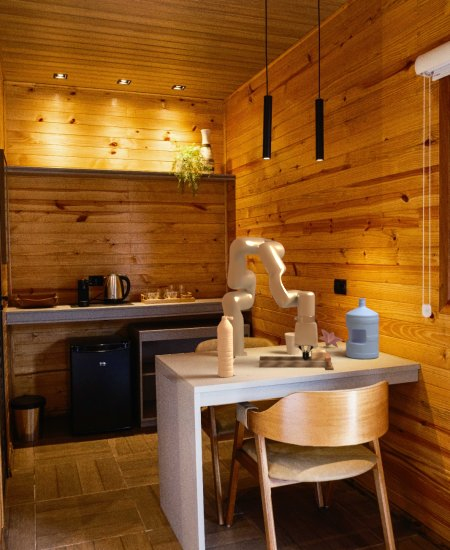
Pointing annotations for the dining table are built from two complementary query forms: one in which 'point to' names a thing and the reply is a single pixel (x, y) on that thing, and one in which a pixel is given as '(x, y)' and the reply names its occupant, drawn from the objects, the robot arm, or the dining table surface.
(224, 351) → the water bottle
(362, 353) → the water jug
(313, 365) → the track
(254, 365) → the dining table surface
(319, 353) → the birch block
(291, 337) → the dixie cup
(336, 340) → the lily
